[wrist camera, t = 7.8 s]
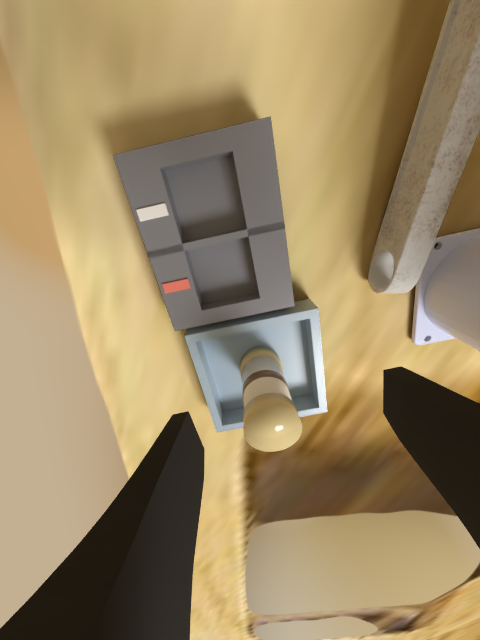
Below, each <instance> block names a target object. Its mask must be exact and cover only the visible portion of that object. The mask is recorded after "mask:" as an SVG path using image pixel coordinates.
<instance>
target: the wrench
mask: <svg viewBox="0 0 480 640" xmlns="http://www.w3.org/2000/svg"><path fill="white" fill-rule="evenodd" d="M479 131H480V0H450V3H449V6H448V9H447V13H446V16H445V19H444V22H443V26H442V29H441V32H440V35H439V39H438V42H437V45H436V48H435V52H434V55H433V58H432V61H431V65H430V68H429V71H428V75H427V78H426V81H425V84H424V88H423V91H422V94H421V98H420V101H419V104H418V107H417V111H416V114H415V117H414V121H413V124H412V127H411V131H410V134H409V137H408V140H407V144H406V147H405V150H404V154H403V157H402V160H401V164H400V167H399V170H398V174H397V177H396V180H395V183H394V186H393V190H392V193H391V196H390V199H389V203H388V206H387V209H386V212H385V215H384V219H383V222H382V225H381V228H380V231H379V235H378V238H377V241H376V245H375V248H374V252H373V256H372V260H371V265H370V269H369V273H368V282H369V285H370V287H371V288H372V290H373V291H374V292H376V293H407V292H409V291H410V290H411V289H412V288H413V287H414V286H415V285H416V284H417V282H418V280H419V278H420V276H421V273H422V270H423V268H424V266H425V263H426V261H427V258H428V256H429V253H430V251H431V248H432V246H433V244H434V241H435V239H436V236H437V234H438V231H439V229H440V226H441V224H442V221H443V219H444V217H445V214H446V212H447V209H448V207H449V204H450V202H451V199H452V197H453V195H454V192H455V190H456V187H457V185H458V182H459V180H460V177H461V175H462V172H463V170H464V168H465V165H466V163H467V160H468V158H469V155H470V153H471V150H472V148H473V146H474V143H475V141H476V138H477V136H478V133H479ZM393 265H394V271H393ZM392 272H393V275H392Z"/></svg>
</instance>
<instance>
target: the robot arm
mask: <svg viewBox="0 0 480 640" xmlns="http://www.w3.org/2000/svg"><path fill="white" fill-rule="evenodd" d="M436 243H437V244H438V245H437V247H436V248H435V249H434V245H435V244H436ZM426 336H427V337H426ZM425 337H426V338H425ZM454 338H457V339H458V340H460V341H462V342H464V343H466V344H467V345H469V346H471V347H473V348H475V349H476V350H478V351H480V228H477V229H473V230H468V231H463V232H459V233H454V234H450V235H445V236H440V237H436V239H435V241H434V244H433V246H432V248H431V251H430V253H429V256H428V258H427V261H426V263H425V266H424V268H423V270H422V273H421V276H420V278H419V280H418V282H417V284H416V290H415V303H414V315H413V327H412V342H413V343H414V344H416V345H424V344H429V343H434V342H439V341H444V340H449V339H454ZM383 413H384V415H385V417H386V418H387V420H388V422H389V423H390V425H391V427H392V429H393V430H394V432H395V433H396V435H397V437H398V438H399V440H400V441H401V443H402V444H403V445H404V447H405V448H406V449H407V451H408V452H409V453H410V455H411V456H412V457H413V459H414V460H415V461H416V462H417V464H418V465H419V466H420V468H421V469H422V470H423V472H424V473H425V474H426V475H427V477H428V478H429V479H430V481H431V482H432V483H433V485H434V486H435V487H436V488H437V490H438V491H439V492H440V494H441V495H442V496H443V498H444V499H445V500H446V501H447V503H448V504H449V505H450V507H451V508H452V509H453V511H454V512H455V513H456V515H457V516H458V517H459V519H460V520H461V522H462V523H463V524H464V526H465V527H466V529H467V530H468V532H469V533H470V535H471V536H472V538H473V539H474V541H475V542H476V544H477V545H478V547H479V548H480V404H479V403H477V402H475V401H473V400H470V399H468V398H466V397H464V396H462V395H460V394H458V393H456V392H453V391H451V390H449V389H447V388H445V387H443V386H441V385H439V384H437V383H435V382H433V381H431V380H429V379H427V378H425V377H422V376H420V375H418V374H416V373H414V372H412V371H410V370H408V369H405V368H403V367H396V368H392V369H387V370H384V389H383ZM203 482H204V447H203V445H202V443H201V440H200V438H199V435H198V433H197V431H196V428H195V426H194V423H193V421H192V419H191V416H190V414H189V411H188V412H183V413H178V414H174V415H172V417H171V418H170V420H169V421H168V423H167V424H166V426H165V427H164V429H163V430H162V432H161V433H160V435H159V436H158V438H157V439H156V441H155V442H154V444H153V445H152V447H151V449H150V450H149V452H148V453H147V454H146V456H145V457H144V459H143V460H142V462H141V463H140V465H139V466H138V468H137V469H136V471H135V472H134V474H133V475H132V476H131V478H130V479H129V480H128V482H127V483H126V485H125V486H124V488H123V489H122V490H121V491H120V493H119V494H118V496H117V497H116V498H115V500H114V501H113V502H112V504H111V505H110V506H109V508H108V509H107V510H106V512H105V513H104V514H103V515H102V516H101V518H100V519H99V520H98V521H97V523H96V524H95V525H94V526H93V527H92V529H91V530H90V531H89V532H88V533H87V535H86V536H85V537H84V538H83V539H82V541H81V542H80V543H79V544H78V545H77V546H76V548H75V549H74V550H73V551H72V552H71V553H70V555H69V556H68V557H67V558H66V559H65V560H64V561H63V562H62V563H61V564H60V566H59V567H58V568H57V569H56V570H55V571H54V572H53V573H52V574H51V576H50V577H49V578H48V579H47V580H46V581H45V582H44V583H43V584H42V585H41V587H40V588H39V589H38V590H37V591H36V592H35V593H34V594H33V595H32V596H31V597H30V599H29V600H28V601H27V602H26V603H25V604H24V605H23V606H22V607H21V608H20V609H19V610H18V611H17V612H16V613H15V614H14V615H13V616H12V617H11V618H10V619H9V620H8V621H7V622H6V623H5V625H3V626H2V627H1V628H0V640H190V614H191V594H192V575H193V564H194V554H195V546H196V538H197V530H198V522H199V515H200V507H201V499H202V490H203Z"/></svg>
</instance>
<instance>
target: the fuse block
mask: <svg viewBox="0 0 480 640" xmlns="http://www.w3.org/2000/svg"><path fill="white" fill-rule="evenodd" d="M113 158H114V160H115V163H116V166H117V169H118V172H119V175H120V177H121V180H122V183H123V186H124V189H125V192H126V194H127V197H128V200H129V203H130V206H131V209H132V211H133V214H134V217H135V220H136V223H137V226H138V228H139V231H140V234H141V237H142V240H143V243H144V245H145V248H146V251H147V254H148V257H149V260H150V262H151V265H152V268H153V271H154V274H155V277H156V279H157V282H158V285H159V288H160V291H161V294H162V296H163V299H164V302H165V305H166V308H167V311H168V313H169V316H170V319H171V322H172V325H173V328H174V330H175V331H178V330H182V329H187V328H192V327H197V326H201V325H206V324H211V323H216V322H221V321H225V320H230V319H235V318H240V317H245V316H249V315H254V314H259V313H264V312H269V311H273V310H278V309H283V308H288V307H293V306H295V304H294V296H293V288H292V280H291V273H290V265H289V257H288V249H287V241H286V233H285V225H284V218H283V210H282V202H281V194H280V186H279V178H278V170H277V163H276V155H275V147H274V139H273V131H272V123H271V116H270V117H266V118H262V119H258V120H254V121H250V122H246V123H242V124H238V125H234V126H230V127H226V128H221V129H217V130H213V131H209V132H205V133H201V134H197V135H193V136H189V137H185V138H181V139H177V140H172V141H168V142H164V143H160V144H156V145H152V146H148V147H144V148H140V149H136V150H132V151H128V152H123V153H119V154H115V155H113Z"/></svg>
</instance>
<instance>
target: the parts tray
mask: <svg viewBox="0 0 480 640" xmlns="http://www.w3.org/2000/svg"><path fill="white" fill-rule="evenodd" d="M294 304H295V306H293V307H288V308H283V309H278V310H273V311H269V312H264V313H259V314H254V315H249V316H245V317H240V318H235V319H230V320H225V321H221V322H216V323H211V324H206V325H201V326H197V327H192V328H187V330H186V333H185V336H184V337H185V340H186V343H187V346H188V348H189V351H190V354H191V357H192V360H193V363H194V366H195V369H196V372H197V375H198V378H199V381H200V384H201V387H202V390H203V393H204V396H205V399H206V402H207V405H208V408H209V411H210V413H211V416H212V419H213V422H214V425H215V428H216V431H217V432H223V431H228V430H233V429H239V428H244V426H243V411H244V401H243V392H242V388H243V385H242V379H241V376H240V361H241V358H242V356H243V355H244V354H245V353H246V352H247V351H248V350H250V349H252V348H255V347H268V348H270V349H272V350H274V351H275V352H276V353H277V354H278V356H279V358H280V361H281V364H282V367H283V374H284V377H285V380H286V382H287V385H288V388H289V393H290V396H291V399H292V401H293V402H294V404H295V406H296V408H297V411H298V414H299V417H303V416H308V415H313V414H319V413H324V412H327V402H326V390H325V378H324V367H323V355H322V343H321V332H320V320H319V309H318V307H317V306H316V305H315V304H314V303H313V302H312V301H311V300H310V299H305V300H300V301H295V302H294Z"/></svg>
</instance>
